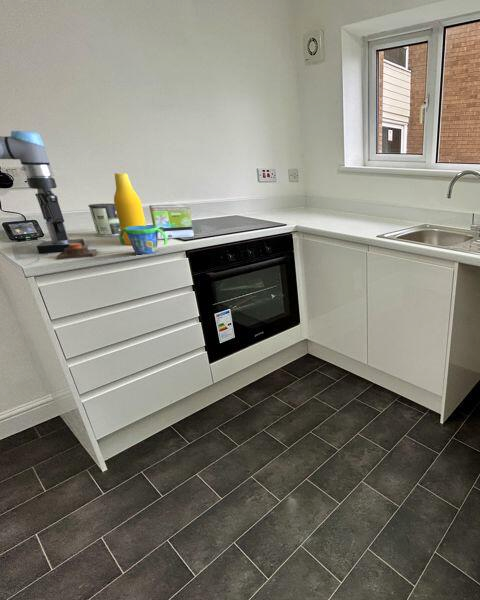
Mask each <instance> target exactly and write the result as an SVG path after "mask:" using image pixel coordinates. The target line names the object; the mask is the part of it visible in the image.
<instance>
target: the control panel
mask: <svg viewBox="0 0 480 600" xmlns="http://www.w3.org/2000/svg"><path fill="white" fill-rule="evenodd" d="M73 243H81V245H82V246H86V242H85V240H84V238H74V239H69V242H66V243H52V241H51V240H43V241H42V242H40V243H38V245H36V249H37V250H36V251H37V253H38V254H40V255H41V254H57V253H61V252H63V251H64V248H67V247H69V244H73Z"/></svg>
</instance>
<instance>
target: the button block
mask: <svg viewBox="0 0 480 600" xmlns="http://www.w3.org/2000/svg"><path fill="white" fill-rule="evenodd" d="M97 253H98V250H97V249H96V248H92V249H91V248H88V246H87V245H85V246H82V248H78V249H70V248H69V247H67V248H64V251H63V252H59V254H57V255H56V258H57V260H64V259H65V260H66V259H78V258H91V257H95V255H96V254H97Z"/></svg>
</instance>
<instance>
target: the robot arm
mask: <svg viewBox="0 0 480 600" xmlns="http://www.w3.org/2000/svg"><path fill="white" fill-rule="evenodd" d="M0 160H19V161H20V165H21V167H20V169H21V171H23V173H24V175H25V177H26V183H27V185H28V187H29V189H33V190H34V189H35V190H36V191H37V193H35V197H36V200H37V203H38V205H39V208H40V211H41V215H42V217H43V220H45V222H49V221H51V220H53V222H51V224H53V226H54V229H55V232H56V235H57V238H58V241H62V240H68V239H69V238H68V239H67V236H68V235H67V236H66V232H67V231H66V232H65V229H66V228H65V229H64V226H65V225H64V226H63V223H65V219H64V216H63V213H62V209H61V207H60V203H59V200H58V195H56V194H55V193H53V191H52V189H56V188H57V187H58V186H57V182H56V179H55V178H54V172H53V169H52V166H51V163H50V160H49V158H48V154H47V149H46V146H45V145H44V142H43V139H42V136H41V134H39V133H38V132H36V131H27V130H11V131H10V136H2V135H1V136H0Z"/></svg>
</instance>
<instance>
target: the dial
mask: <svg viewBox="0 0 480 600" xmlns="http://www.w3.org/2000/svg"><path fill="white" fill-rule="evenodd" d="M51 222H53V220H51V221H49V222H47V221H45V226H46V228H47V231H48V234H49V237H50V241H52V243H66V242H69V240H70V238H69V236H68V233H67V230H66V226H65V222H63V226H64V229H65V232H66V236H67V239H68V240H62V241H58V238H57V235H56V232H55V229H54V226H53V224H51Z"/></svg>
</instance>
